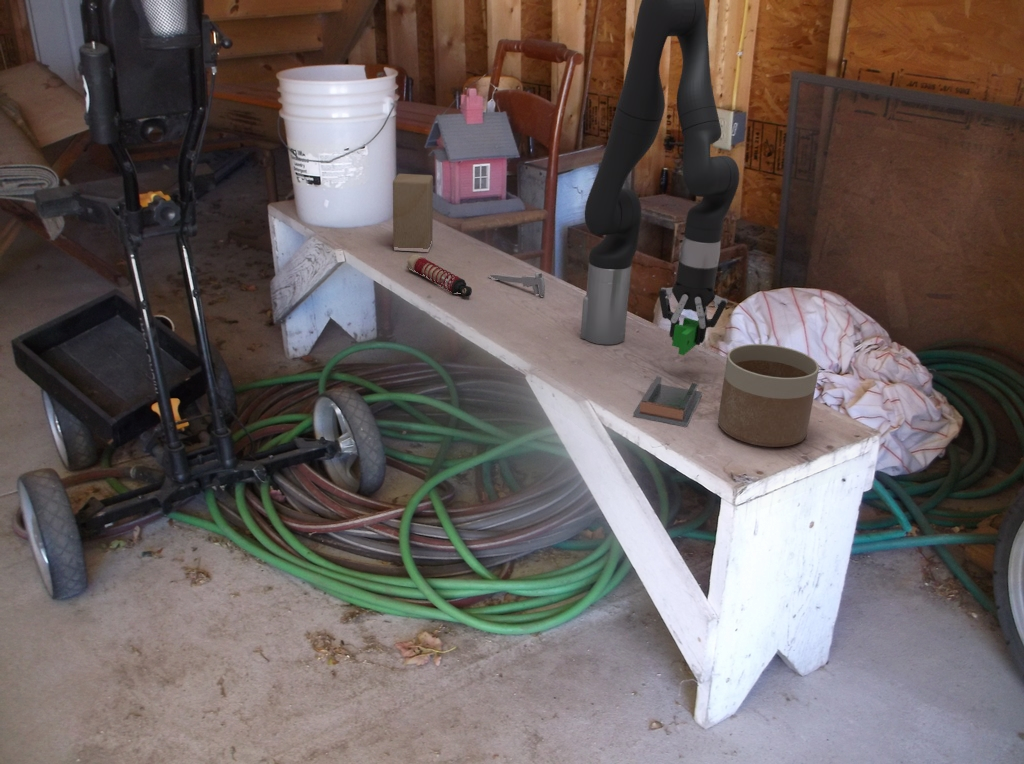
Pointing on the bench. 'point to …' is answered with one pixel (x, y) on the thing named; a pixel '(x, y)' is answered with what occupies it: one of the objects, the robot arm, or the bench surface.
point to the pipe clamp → (685, 335)
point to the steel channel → (668, 403)
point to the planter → (767, 394)
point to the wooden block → (412, 211)
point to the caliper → (525, 281)
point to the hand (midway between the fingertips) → (686, 341)
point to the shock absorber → (438, 275)
